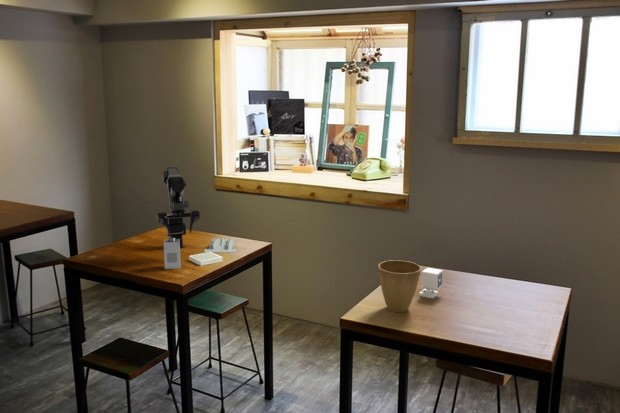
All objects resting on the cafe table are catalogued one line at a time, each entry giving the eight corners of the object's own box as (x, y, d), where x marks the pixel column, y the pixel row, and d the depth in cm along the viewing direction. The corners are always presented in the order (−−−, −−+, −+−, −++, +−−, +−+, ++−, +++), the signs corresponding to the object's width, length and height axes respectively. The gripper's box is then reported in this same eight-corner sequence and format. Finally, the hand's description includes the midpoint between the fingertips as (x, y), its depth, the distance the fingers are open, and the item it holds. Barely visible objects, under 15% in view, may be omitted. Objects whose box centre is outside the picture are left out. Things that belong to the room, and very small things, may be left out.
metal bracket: (207, 234, 301) (238, 235, 301) (208, 245, 304) (239, 245, 303) (202, 250, 288) (234, 250, 288) (204, 261, 291) (235, 261, 291)
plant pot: (370, 311, 217) (371, 268, 214) (387, 298, 230) (389, 257, 226) (409, 320, 210) (411, 275, 206) (425, 306, 222) (427, 264, 219)
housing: (165, 265, 269) (164, 237, 267) (180, 265, 270) (179, 236, 268) (164, 269, 264) (163, 240, 262) (180, 268, 265) (178, 239, 263)
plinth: (189, 260, 278) (189, 255, 278) (210, 255, 285) (210, 251, 284) (201, 265, 270) (200, 261, 269) (222, 261, 276) (222, 256, 276)
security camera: (436, 299, 229) (437, 274, 227) (418, 296, 233) (419, 271, 231) (442, 294, 234) (443, 269, 232) (424, 291, 238) (425, 266, 236)
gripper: (156, 195, 269) (159, 228, 263) (199, 193, 274) (202, 225, 269) (155, 205, 279) (158, 237, 273) (197, 203, 284) (200, 234, 279)
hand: (180, 233), depth 273 cm, fingers open, 9 cm apart
